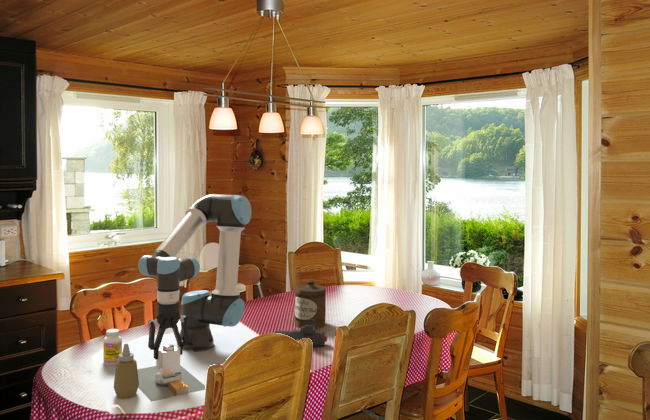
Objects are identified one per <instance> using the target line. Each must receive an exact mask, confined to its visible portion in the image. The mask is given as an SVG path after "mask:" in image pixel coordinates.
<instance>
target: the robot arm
mask: <svg viewBox="0 0 650 420" xmlns="http://www.w3.org/2000/svg"><path fill="white" fill-rule="evenodd" d="M251 219H252V206H251V203H250V201H249V199H248V198H247V197H245V196H244V195H239V194H224V193H223V194H217V193H211V194H207V195H204V196H203V197H201V198H199V199H197V200H196V201H194V202H193V203H192V204H191V205H190V206H189V207H188V208H187V209H186V211H185V215H184V217H183V218H182V219H181V220H180V221H179V222H178V223H177V225H176V226H175V227H174V228H173V229H172V231H171V232H170V233H169V234H168V235H167V237H165V238H164V240H163V241H162V242H161V244H159V246H157V248H156V249H155V251H154V252H153V253H152V254H151V255H150V254H146V255H145V254H144V255H143V256H141V257H140V259H139V260H138V264H137V268H138V272H139V273H140V274H141V275H143V276H148V277H154V278H155V277H156V279H157V289H156V290H157V292H156V293H157V296H156V300H157V303H156V304H157V305H156V307H157V308H156V312H157V315H156V317H155V319H152V320H148V322H147V323H148V326H149V330H148V331H149V332H148V342H147V343H148V345H147V346H148V347H147V348H149V350H150V351H153V359H154V360H155V366H156V367H157V368H158V369H161V350H160V349H159V347H161V344H162V340H163V337H164V334H165V332H166V330H168V329H172V332H173V335H174V337H175V338H174V339H175V341H176V345H174V346H175V347H177V348H178V349H179V350H180V356H181V355H183V353H184V352H183V350H186V351H193V352H199V351H207V350H209V349H211V348H213V346H215V345H214V341H215V340H214V336H213V334H212V330H211V327H210V325H215V326H216V325H217V326H222V327H224V328H225V327H233V328H234V327H235V326H237V325H238V324H240V322H241V320H242V319H243V316H244V313H245V309H246V308H245V301H244V299H241V298H240V297H241V296H240V295H241V293H240V292H239V291H238V289H237V288H238V276H239V274H238V273H239V264H240V263H239V262H240V261H239V260H240V249H241V247H240V246H241V235H242V231H243V230H245V229H246V225H247V224H249V223H250V221H251ZM211 222H215V223H216V228H217V229H218V230H219V238H218V239H219V240H218V252H217V253H218V254H217V265H216V267H217V268H216V280H215V288H214V290H212V291H210V290H209V289H208V290H207V289H203V290H202V289H199V290H192V291H188V292H185V293H184V294H183V295H182V297H181V303H180V302H179V301H180V282H184V281H187V280H191V279H193V278H194V277H197V276H198V275H199V273H200V270H201V265H200V262H199V261H198V259H196V258H194V257H184V258H178V257H177V256H178V255H179V254H180V253H181V252H182V250H183V249H184V247H185V246H186V245H187V244H188V242H190V240H191V239H192V238H193V236H194V235H195V234H196V233H197V231H199V229H200V228H203V227H205V226H206V225H207V224H208V223H211ZM210 292H211V293H210ZM180 305H181V307H180ZM180 308H181V311H180ZM180 312H181V313H180ZM180 314H181V315H180ZM179 322H180V331H179V327H178V323H179ZM157 324H158V331H157V333H156V326H157Z"/></svg>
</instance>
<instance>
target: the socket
mask: <svg viewBox="0 0 650 420" xmlns="http://www.w3.org/2000/svg"><path fill="white" fill-rule="evenodd" d="M159 349H160V350H161V369H158V368H157V371H158V372H160V373H161V374H162V375H168V374H173V373H178V372H180V365H181V355H180V350H179V349H178V348H177V347H175V345H174V344H163V345H162V346H160V347H159Z"/></svg>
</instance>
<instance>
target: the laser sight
mask: <svg viewBox="0 0 650 420" xmlns="http://www.w3.org/2000/svg"><path fill="white" fill-rule="evenodd" d="M275 333H282V334H285V335H288V336H290V337H292V338H294V339H295V340H297V341H299V340H300V339H302V338H310V339H311V340H312V342H313V346H312V347H319V346H321V347H322V346H323V347H325V345H326V342H328V336H326V332H325V331H320V330H315V320H312V319H307V320H306V325H305V326H301V328H300V329H293V330H281V329H280V330H279V329H277V330H274V334H275Z"/></svg>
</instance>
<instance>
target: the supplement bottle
mask: <svg viewBox="0 0 650 420" xmlns="http://www.w3.org/2000/svg"><path fill="white" fill-rule="evenodd" d="M105 334H106V336H105V337H104V338H103V364H104V365H108V366H109V365H116V362H117V361H119V355H120V354H122V352H123V341H122V339H123V337H121V335H120V330H119V329H118V328H110V329H106V332H105Z"/></svg>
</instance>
